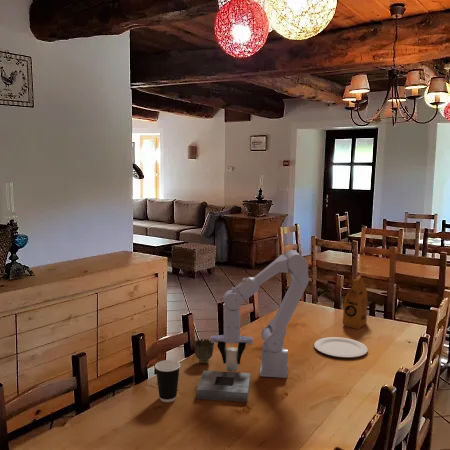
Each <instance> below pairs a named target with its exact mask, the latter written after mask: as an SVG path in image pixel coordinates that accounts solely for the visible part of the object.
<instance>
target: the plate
mask: <svg viewBox="0 0 450 450" xmlns="http://www.w3.org/2000/svg"><path fill="white" fill-rule="evenodd" d="M313 346H314V348H315V350H317V352H319V353H322V354H324V355H327V356H329V357H334V358H338V359H339V358H341V359H355V358H358V357H363V356H364V355H366V354H367V353H368V351H369V349H368V347H367V346H366V345H365V344H364V343H362V342H360V341H358V340H355V339H352V338H347V337H339V336H335V337H334V336H329V337H322V338H319V339H317V340H315V342H314V344H313Z"/></svg>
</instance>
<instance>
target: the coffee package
mask: <svg viewBox="0 0 450 450" xmlns="http://www.w3.org/2000/svg"><path fill="white" fill-rule="evenodd" d="M349 283H352V286H351V287H350V291H348V292H347V294H346V296H345V297H344V299H343V300H344V301H343V307H342V308H343V313H342V325H343V326H344V327H347V328H352V329H356V330H360V329H361V328H362V327H365V326H366V324H367V316H368V314H367V313H368V291H367V290H368V289H367V287H366V284H365V283H364V280H363V278H362V276H361V275H357V276H356V279H354V278H353V279H351V280H350V281H349Z"/></svg>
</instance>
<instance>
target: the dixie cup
mask: <svg viewBox="0 0 450 450" xmlns="http://www.w3.org/2000/svg"><path fill="white" fill-rule="evenodd" d="M154 368H155V372H156V373H155V374H156V380H157V381H156V383H157V388H158V396H159V398H160V399H159V400H160V401H161V402H164V403H173V402H174V401H175V400H176V397H177V395H178V386H179V384H178V383H179V376H180V368H181V363H180V362H179V361H177V360H173V359H172V360H171V359H165V360H160V361H158V362H157V363H155V365H154Z"/></svg>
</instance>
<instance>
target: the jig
mask: <svg viewBox="0 0 450 450" xmlns="http://www.w3.org/2000/svg"><path fill="white" fill-rule="evenodd" d="M250 388H251V373H250V372H237V371H234V372H230V371H217V370H205V369H204V370H203V371H202V374H201V377H200V380H199V382H198V385H197V387H196V399H197V400H211V401H227V402H228V401H229V402H239V403H240V402H241V403H243V402H244V403H248V402H249V395H250Z"/></svg>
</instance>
